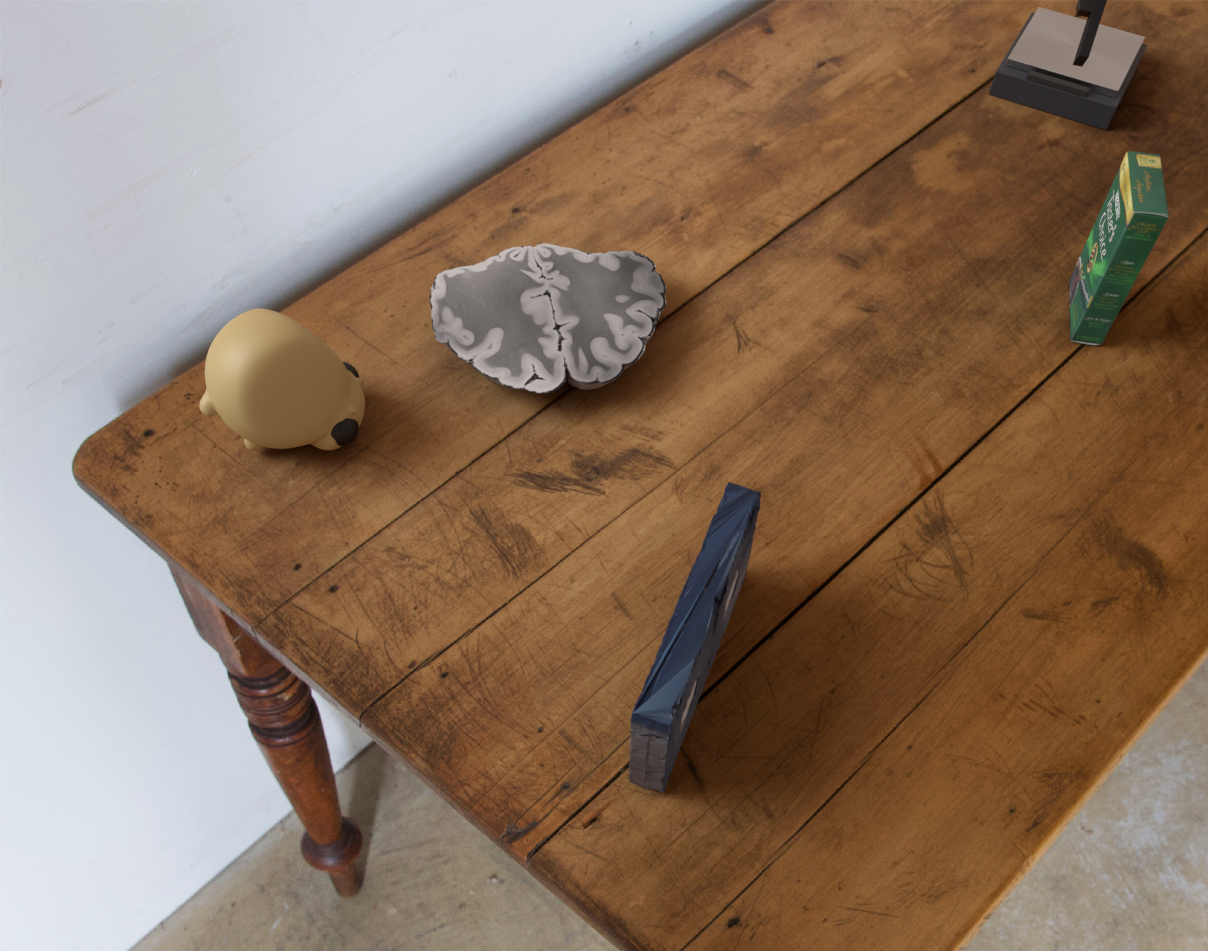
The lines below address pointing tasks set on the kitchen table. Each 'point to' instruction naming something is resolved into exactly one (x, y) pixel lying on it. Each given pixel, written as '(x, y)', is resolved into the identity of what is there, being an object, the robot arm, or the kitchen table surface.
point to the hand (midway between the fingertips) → (1168, 79)
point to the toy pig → (281, 385)
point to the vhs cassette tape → (692, 640)
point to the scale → (1068, 68)
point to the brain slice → (549, 315)
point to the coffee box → (1117, 247)
